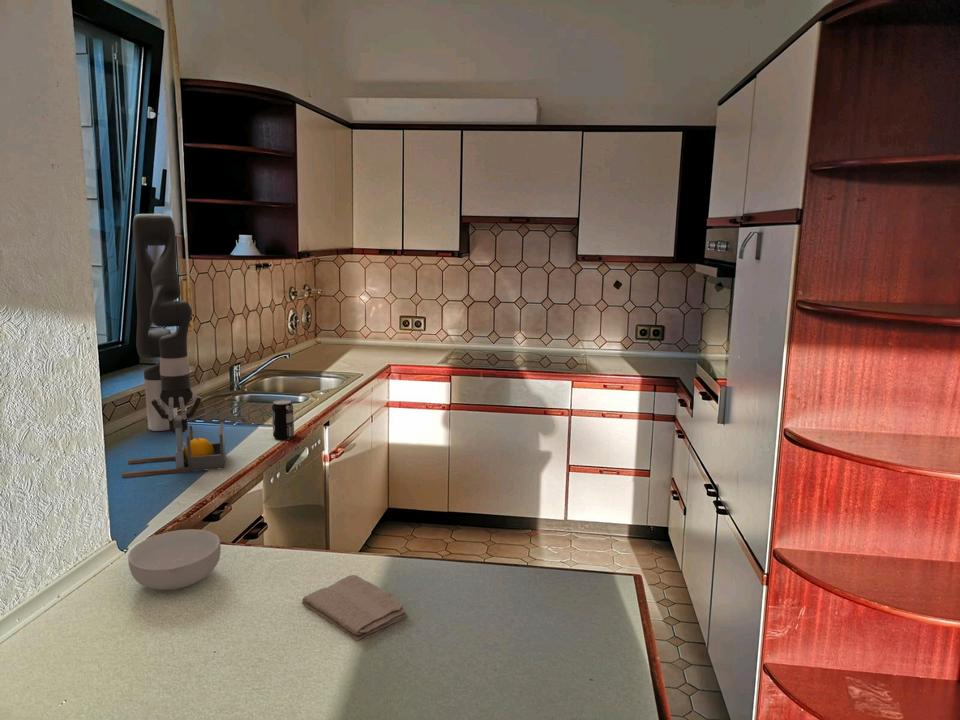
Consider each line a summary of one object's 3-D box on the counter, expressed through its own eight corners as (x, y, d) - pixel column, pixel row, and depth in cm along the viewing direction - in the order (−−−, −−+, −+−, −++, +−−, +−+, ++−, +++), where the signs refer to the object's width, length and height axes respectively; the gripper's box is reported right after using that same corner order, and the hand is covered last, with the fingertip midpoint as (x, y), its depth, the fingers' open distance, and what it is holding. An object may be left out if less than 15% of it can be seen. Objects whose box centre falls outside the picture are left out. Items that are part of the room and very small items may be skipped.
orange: (205, 468, 203) (204, 443, 201) (179, 467, 204) (177, 441, 202) (219, 459, 210) (218, 435, 209) (194, 457, 212) (192, 433, 210)
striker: (179, 459, 209) (175, 414, 207) (186, 458, 210) (183, 413, 207) (176, 469, 201) (172, 423, 198) (184, 469, 201) (180, 422, 199)
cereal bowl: (150, 560, 149) (148, 529, 148) (232, 559, 150) (230, 527, 149) (115, 604, 133) (112, 568, 131) (207, 602, 134) (205, 567, 132)
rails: (128, 463, 206) (128, 459, 206) (191, 457, 212) (191, 454, 211) (121, 477, 195) (121, 474, 195) (188, 471, 200) (188, 468, 200)
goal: (191, 457, 212) (189, 425, 210) (225, 454, 215) (223, 422, 213) (188, 471, 200) (186, 437, 199) (224, 468, 203) (222, 434, 201)
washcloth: (359, 646, 121) (359, 630, 121) (299, 607, 133) (298, 592, 133) (411, 618, 130) (411, 603, 129) (350, 584, 142) (350, 569, 141)
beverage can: (271, 435, 233) (269, 400, 231) (291, 433, 236) (290, 398, 234) (275, 441, 228) (273, 405, 225) (296, 438, 231) (294, 402, 228)
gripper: (202, 368, 206) (205, 426, 209) (149, 370, 201) (153, 429, 205) (200, 373, 199) (204, 433, 202) (146, 376, 194) (150, 437, 198)
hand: (178, 431), depth 203 cm, fingers closed on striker, 2 cm apart
